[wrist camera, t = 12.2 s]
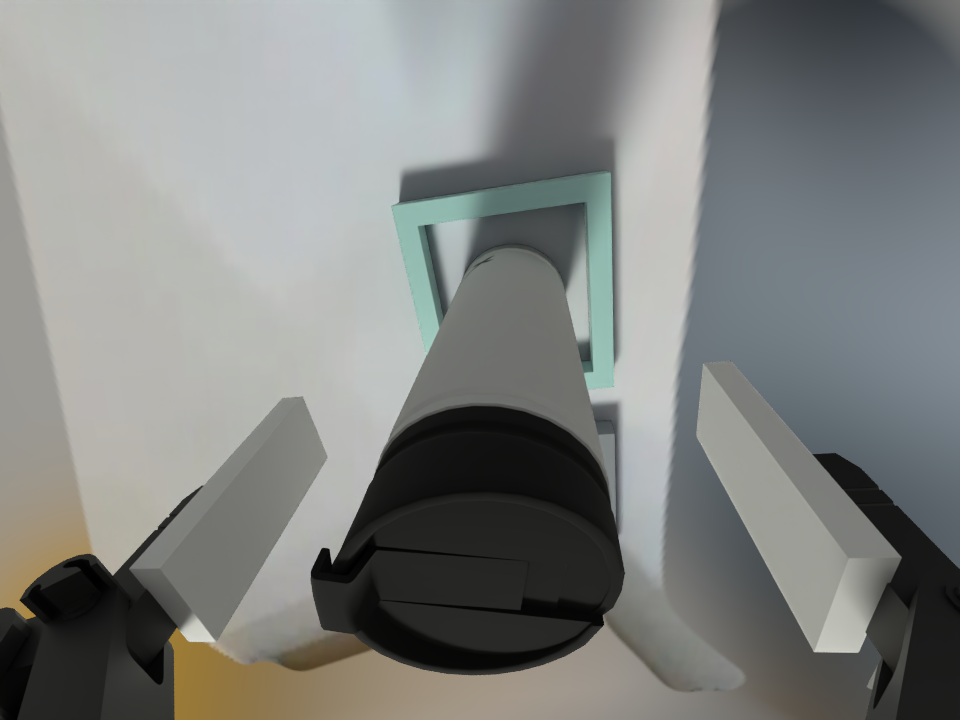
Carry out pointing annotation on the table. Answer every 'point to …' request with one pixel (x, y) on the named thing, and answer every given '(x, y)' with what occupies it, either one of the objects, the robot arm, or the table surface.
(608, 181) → the frame
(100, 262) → the table surface
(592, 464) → the travel mug
